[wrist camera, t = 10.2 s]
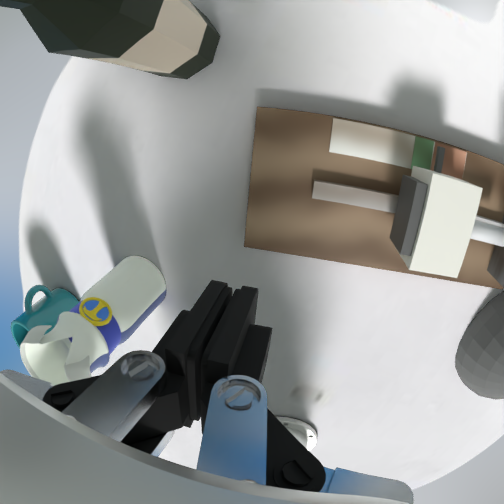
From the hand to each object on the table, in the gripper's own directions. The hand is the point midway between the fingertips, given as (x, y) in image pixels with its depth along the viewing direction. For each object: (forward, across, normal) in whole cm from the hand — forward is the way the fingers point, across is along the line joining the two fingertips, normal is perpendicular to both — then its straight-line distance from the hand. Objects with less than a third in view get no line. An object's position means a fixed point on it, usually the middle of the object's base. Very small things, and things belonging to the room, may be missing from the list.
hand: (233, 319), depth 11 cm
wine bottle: (+21, +12, -16) cm, 29 cm away
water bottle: (+22, +18, +13) cm, 31 cm away
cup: (+22, +34, +21) cm, 45 cm away
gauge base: (+21, -12, -2) cm, 25 cm away
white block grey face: (+18, -16, -3) cm, 25 cm away
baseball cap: (+22, -40, +13) cm, 47 cm away
